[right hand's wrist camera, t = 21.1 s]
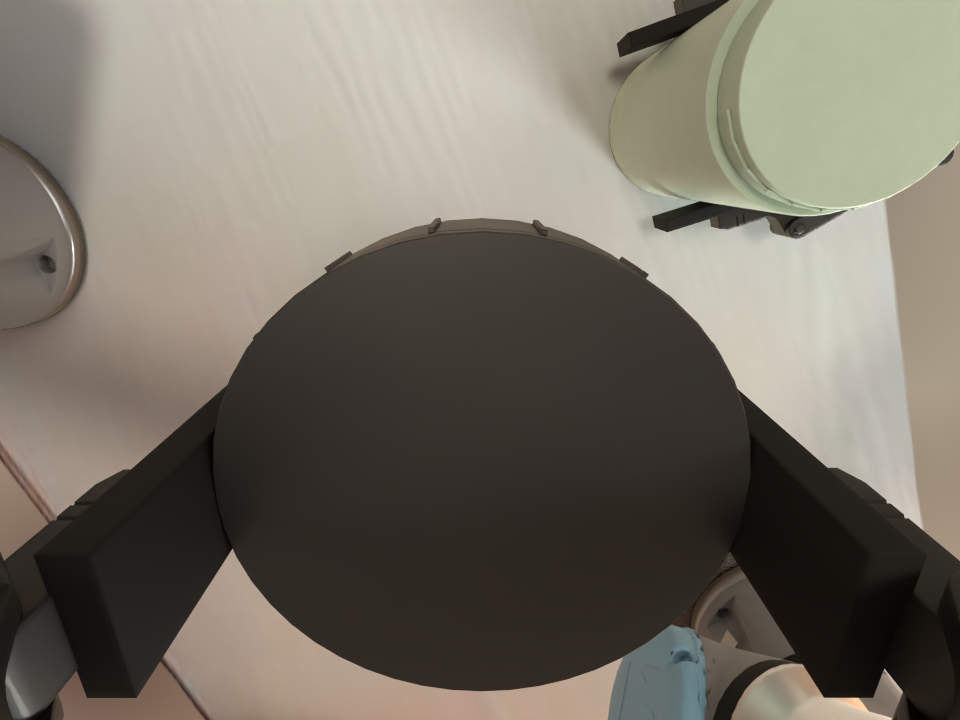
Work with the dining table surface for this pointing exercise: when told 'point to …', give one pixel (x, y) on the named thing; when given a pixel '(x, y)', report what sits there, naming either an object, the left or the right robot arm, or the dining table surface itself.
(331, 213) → the dining table surface
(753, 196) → the jar
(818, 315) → the dining table surface
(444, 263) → the lid
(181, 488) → the right robot arm
